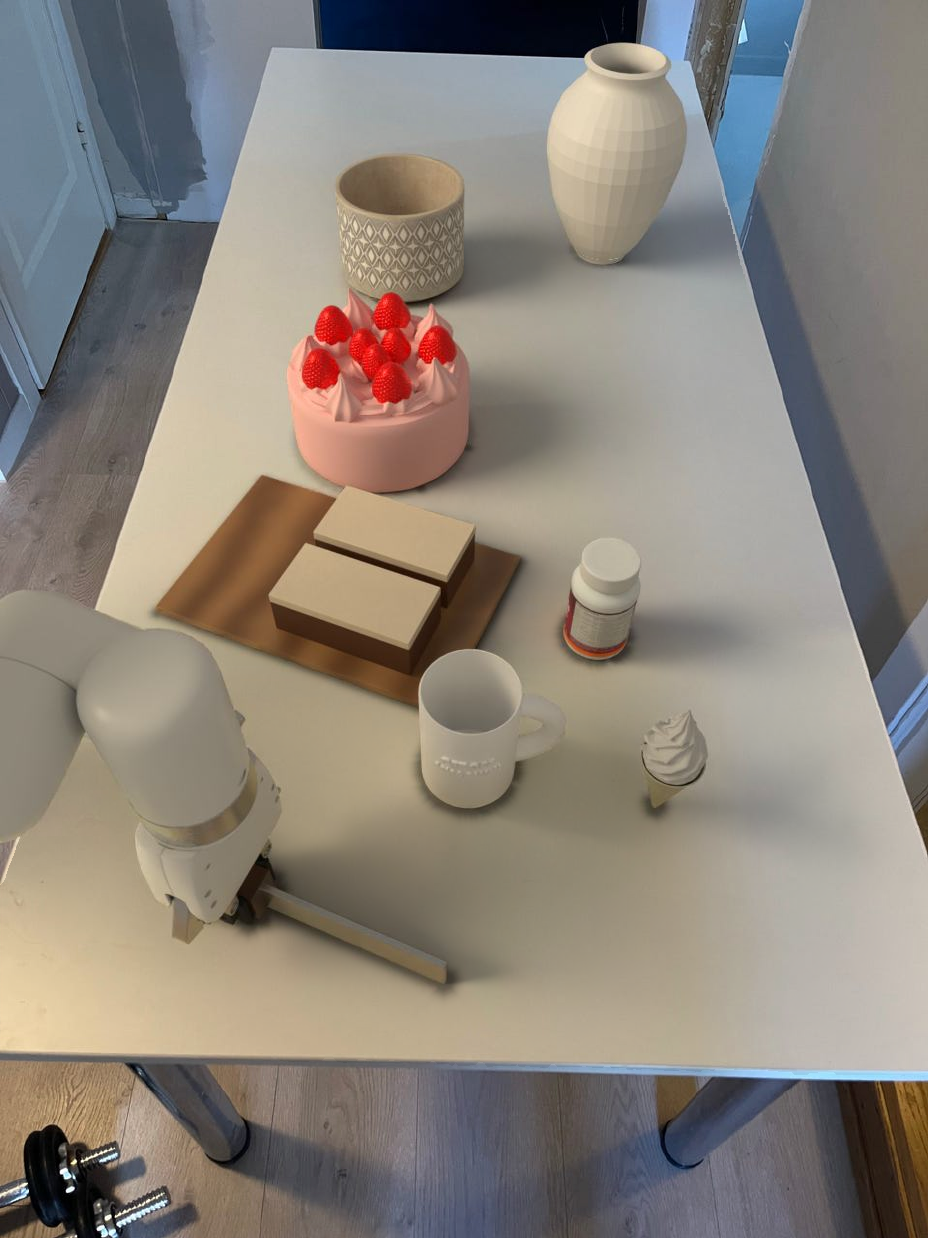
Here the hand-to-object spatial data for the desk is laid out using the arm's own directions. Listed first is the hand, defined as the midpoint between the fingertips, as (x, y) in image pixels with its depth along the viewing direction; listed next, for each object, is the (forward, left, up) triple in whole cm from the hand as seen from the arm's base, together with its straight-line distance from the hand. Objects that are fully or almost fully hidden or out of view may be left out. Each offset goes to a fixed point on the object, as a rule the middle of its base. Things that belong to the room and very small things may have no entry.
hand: (246, 894), depth 71 cm
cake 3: (-3, +27, +1) cm, 27 cm away
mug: (+14, +18, 0) cm, 23 cm away
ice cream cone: (+28, +20, 0) cm, 34 cm away
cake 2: (-3, +35, +1) cm, 35 cm away
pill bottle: (+18, +35, 0) cm, 39 cm away
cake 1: (-13, +53, 0) cm, 55 cm away
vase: (-2, +101, 0) cm, 101 cm away
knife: (+5, 0, 0) cm, 5 cm away
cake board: (-7, +31, 0) cm, 32 cm away
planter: (-25, +84, 0) cm, 88 cm away
